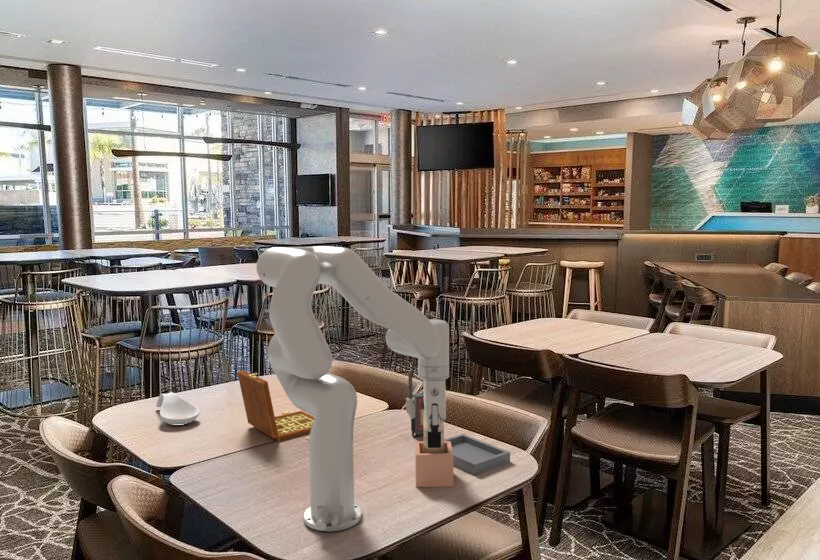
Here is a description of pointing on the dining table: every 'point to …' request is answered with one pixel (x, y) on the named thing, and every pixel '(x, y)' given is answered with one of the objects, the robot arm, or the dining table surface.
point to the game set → (270, 410)
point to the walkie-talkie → (415, 409)
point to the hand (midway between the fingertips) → (433, 442)
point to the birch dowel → (425, 436)
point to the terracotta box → (433, 466)
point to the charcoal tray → (476, 454)
